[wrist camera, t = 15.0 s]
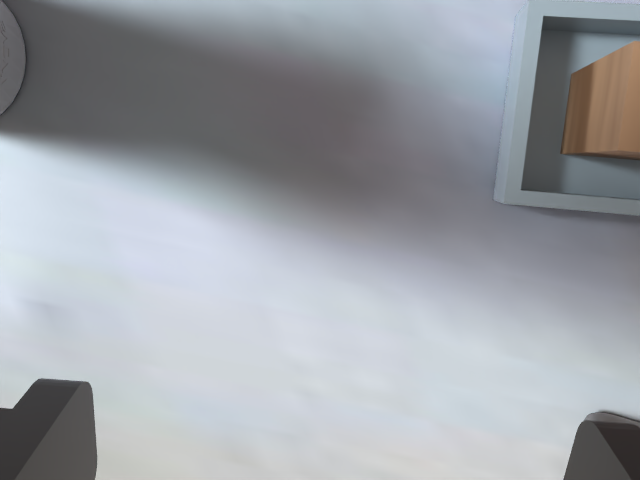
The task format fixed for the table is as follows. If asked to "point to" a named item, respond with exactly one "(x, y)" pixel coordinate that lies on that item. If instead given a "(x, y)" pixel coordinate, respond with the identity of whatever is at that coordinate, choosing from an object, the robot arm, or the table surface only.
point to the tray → (561, 109)
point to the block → (605, 107)
